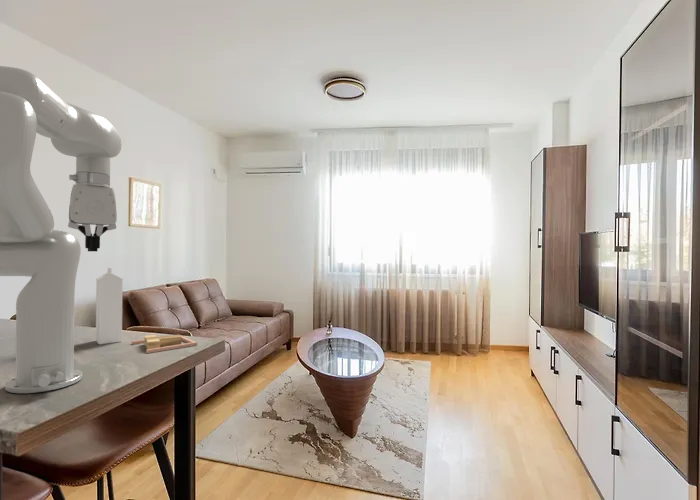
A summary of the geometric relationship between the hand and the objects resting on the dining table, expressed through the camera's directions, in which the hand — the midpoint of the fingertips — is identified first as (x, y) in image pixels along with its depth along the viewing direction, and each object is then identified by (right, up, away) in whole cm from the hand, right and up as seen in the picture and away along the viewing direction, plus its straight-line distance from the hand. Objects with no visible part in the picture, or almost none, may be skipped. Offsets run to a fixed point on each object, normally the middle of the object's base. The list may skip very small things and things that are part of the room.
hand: (92, 251), depth 104 cm
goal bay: (+13, -27, +10) cm, 32 cm away
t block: (+14, -27, +10) cm, 32 cm away
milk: (-4, -27, +14) cm, 31 cm away
